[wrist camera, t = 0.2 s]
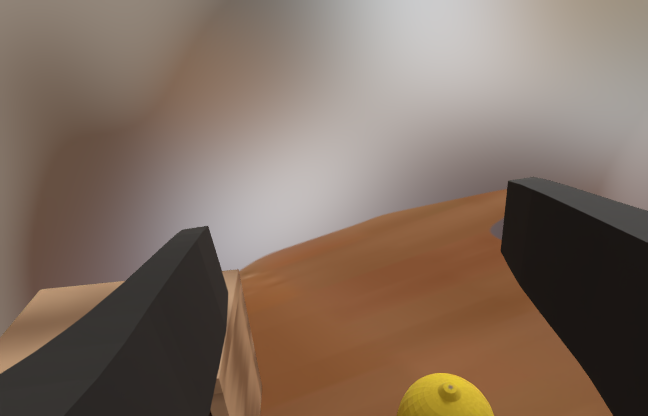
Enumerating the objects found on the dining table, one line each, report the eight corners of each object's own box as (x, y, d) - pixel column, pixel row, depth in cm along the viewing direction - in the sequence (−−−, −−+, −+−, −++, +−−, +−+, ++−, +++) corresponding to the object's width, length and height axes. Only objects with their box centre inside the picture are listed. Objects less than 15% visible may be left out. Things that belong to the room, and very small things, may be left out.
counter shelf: (253, 508, 24) (218, 378, 19) (36, 535, 24) (-60, 409, 19) (261, 386, 32) (238, 269, 27) (96, 404, 31) (40, 289, 26)
